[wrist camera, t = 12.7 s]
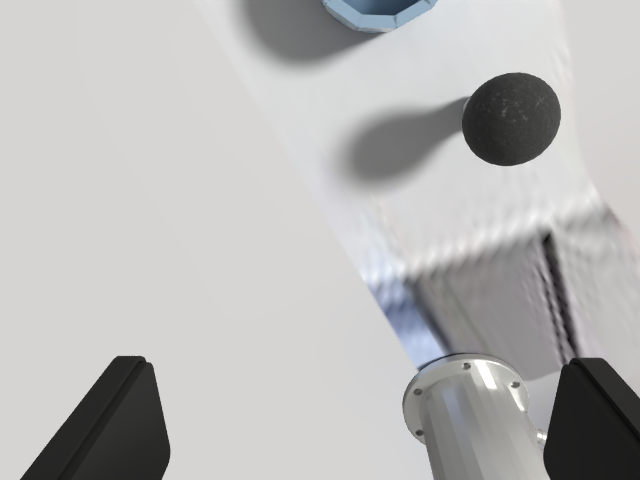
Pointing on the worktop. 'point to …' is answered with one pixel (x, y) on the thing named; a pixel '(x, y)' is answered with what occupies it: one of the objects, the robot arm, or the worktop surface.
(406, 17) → the bowl
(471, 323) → the worktop surface
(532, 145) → the light bulb
